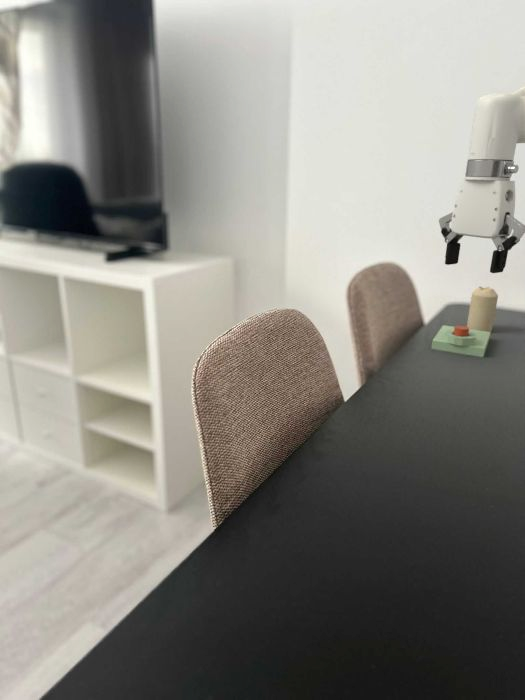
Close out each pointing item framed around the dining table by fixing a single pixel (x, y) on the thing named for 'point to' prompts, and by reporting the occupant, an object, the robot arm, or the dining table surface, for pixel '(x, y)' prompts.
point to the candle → (482, 309)
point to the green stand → (461, 341)
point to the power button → (461, 331)
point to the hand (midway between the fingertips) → (472, 268)
